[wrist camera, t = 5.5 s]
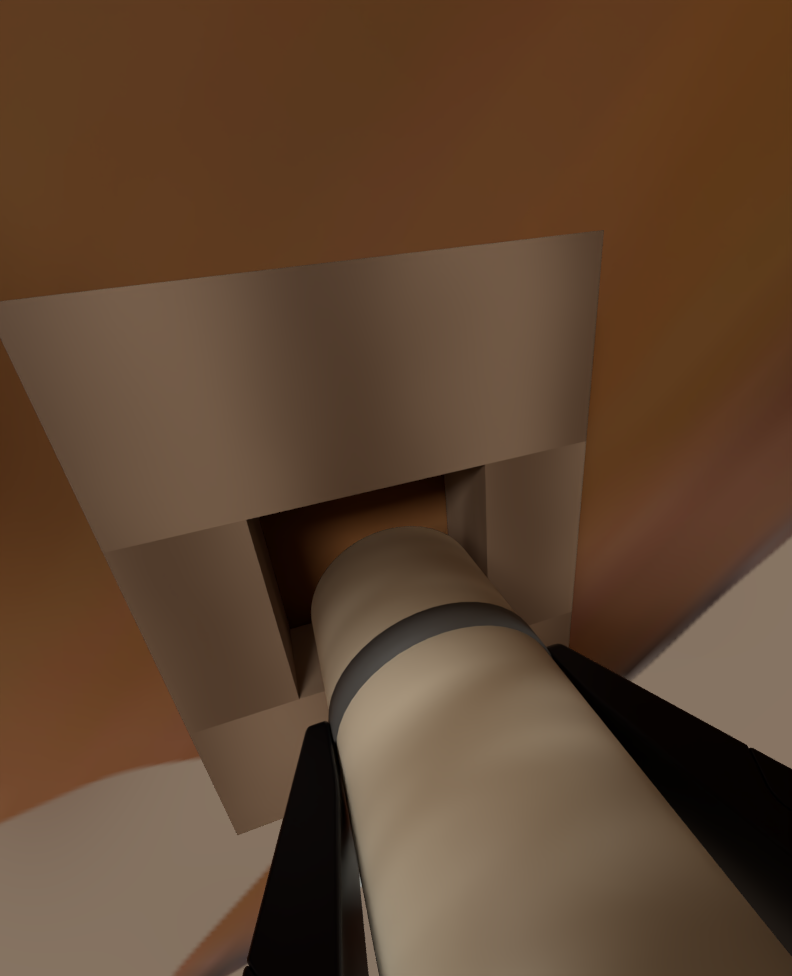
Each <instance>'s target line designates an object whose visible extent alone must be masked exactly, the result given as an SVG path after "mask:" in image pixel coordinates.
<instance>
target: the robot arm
mask: <svg viewBox="0 0 792 976" xmlns="http://www.w3.org/2000/svg"><path fill="white" fill-rule="evenodd" d="M546 648H547V649H548V651H549V652H550V654H551V656H552V659H553V660H554V661H555V663H556V664H557V665H558V666H559V668H560V669H561V670H562V671H563V673H564V674H565V675H566V676H567V678H568V679H569V680H570V681H571V683H572V684H573V685H574V686H575V688H576V689H577V690H578V691H579V693H580V694H581V695H582V696H583V698H584V699H585V700H586V701H587V703H588V704H589V705H590V706H591V708H592V709H593V710H594V711H595V712H596V714H597V715H598V716H599V717H600V719H601V720H602V721H603V722H604V724H605V725H606V726H607V727H608V729H609V730H610V731H611V732H612V734H613V735H614V736H615V737H616V739H617V740H618V741H619V742H620V744H621V745H622V746H623V747H624V749H625V750H626V751H627V752H628V754H629V755H630V756H631V757H632V759H633V760H634V761H635V762H636V764H637V765H638V766H639V767H640V768H641V770H642V771H643V772H644V773H645V775H646V776H647V777H648V778H649V780H650V781H651V782H652V783H653V785H654V786H655V787H656V788H657V790H658V791H659V792H660V793H661V795H662V796H663V797H664V798H665V800H666V801H667V802H668V803H669V805H670V806H671V807H672V808H673V810H674V811H675V812H676V813H677V815H678V816H679V817H680V818H681V820H682V821H683V822H684V823H685V824H686V826H687V827H688V828H689V829H690V831H691V832H692V833H693V834H694V836H695V837H696V838H697V839H698V841H699V842H700V843H701V844H702V846H703V847H704V848H705V849H706V851H707V852H708V853H709V854H710V856H711V857H712V858H713V859H714V861H715V862H716V863H717V864H718V866H719V867H720V868H721V869H722V871H723V872H724V873H725V874H726V876H727V877H728V878H729V879H730V880H731V882H732V883H733V884H734V885H735V887H736V888H737V889H738V890H739V892H740V893H741V894H742V895H743V897H744V898H745V899H746V900H747V902H748V903H749V904H750V905H751V907H752V908H753V909H754V910H755V912H756V913H757V914H758V915H759V917H760V918H761V919H762V920H763V922H764V923H765V924H766V925H767V927H768V928H769V929H770V930H771V932H772V933H773V934H774V935H775V936H776V938H777V939H778V940H779V941H780V943H781V944H782V945H783V946H784V948H785V949H786V950H787V951H788V953H789V954H790V955H791V956H792V769H791V768H789V767H787V766H785V765H783V764H781V763H779V762H777V761H775V760H773V759H772V758H770V757H768V756H766V755H765V754H763V753H761V752H759V751H757V750H755V749H754V748H748V746H747V745H746V744H744V743H742V742H741V741H739V740H737V739H735V738H733V737H731V736H730V735H727V734H726V733H724V732H722V731H720V730H719V729H717V728H715V727H713V726H711V725H709V724H708V723H706V722H704V721H702V720H700V719H698V718H696V717H695V716H693V715H691V714H689V713H687V712H685V711H684V710H682V709H680V708H678V707H676V706H675V705H673V704H671V703H669V702H667V701H665V700H664V699H661V698H660V697H658V696H656V695H654V694H653V693H650V692H649V691H647V690H645V689H643V688H642V687H640V686H638V685H636V684H634V683H632V682H631V681H629V680H627V679H625V678H623V677H621V676H620V675H618V674H616V673H614V672H612V671H610V670H609V669H607V668H605V667H603V666H601V665H600V664H598V663H596V662H594V661H592V660H590V659H589V658H587V657H585V656H583V655H581V654H579V653H578V652H576V651H574V650H572V649H570V648H568V647H567V646H565V645H563V644H553V645H550V646H547V647H546ZM247 963H248V965H249V966H246V967H245V968H244V971H243V976H369V974H368V964H367V954H366V943H365V933H364V924H363V912H362V903H361V892H360V882H359V871H358V862H357V856H356V851H355V846H354V841H353V835H352V830H351V825H350V820H349V814H348V809H347V804H346V799H345V793H344V788H343V783H342V778H341V772H340V770H339V766H338V762H337V758H336V754H335V751H334V747H333V741H332V736H331V731H330V725H329V723H328V722H327V721H323V722H320V723H317V724H314V725H311V726H309V727H308V728H307V729H306V732H305V735H304V739H303V743H302V747H301V751H300V755H299V759H298V763H297V766H296V770H295V774H294V778H293V782H292V786H291V790H290V794H289V798H288V801H287V805H286V809H285V813H284V817H283V821H282V825H281V829H280V832H279V836H278V840H277V844H276V848H275V852H274V856H273V860H272V864H271V867H270V871H269V875H268V879H267V883H266V887H265V891H264V895H263V899H262V902H261V906H260V910H259V914H258V918H257V922H256V926H255V930H254V933H253V937H252V941H251V945H250V949H249V953H248V957H247Z"/></svg>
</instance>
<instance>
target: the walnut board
mask: <svg viewBox="0 0 792 976" xmlns="http://www.w3.org/2000/svg"><path fill="white" fill-rule="evenodd" d="M603 234H604V230H601V231H593V232H584V233H576V234H567V235H559V236H550V237H542V238H534V239H525V240H517V241H508V242H500V243H491V244H483V245H474V246H466V247H457V248H449V249H440V250H432V251H423V252H415V253H406V254H398V255H389V256H381V257H372V258H364V259H355V260H347V261H338V262H330V263H321V264H313V265H304V266H296V267H287V268H279V269H271V270H262V271H254V272H245V273H237V274H228V275H220V276H211V277H203V278H194V279H186V280H177V281H169V282H160V283H152V284H143V285H135V286H126V287H118V288H109V289H101V290H92V291H84V292H75V293H67V294H58V295H50V296H41V297H33V298H24V299H16V300H8V301H0V338H1V340H2V342H3V345H4V347H5V349H6V351H7V353H8V355H9V357H10V359H11V361H12V363H13V366H14V368H15V370H16V372H17V374H18V376H19V378H20V380H21V382H22V384H23V387H24V389H25V391H26V393H27V395H28V397H29V399H30V401H31V403H32V405H33V407H34V410H35V412H36V414H37V416H38V418H39V420H40V422H41V424H42V426H43V428H44V431H45V433H46V435H47V437H48V439H49V441H50V443H51V445H52V447H53V449H54V452H55V454H56V456H57V458H58V460H59V462H60V464H61V466H62V468H63V470H64V472H65V475H66V477H67V479H68V481H69V483H70V485H71V487H72V489H73V491H74V493H75V496H76V498H77V500H78V502H79V504H80V506H81V508H82V510H83V512H84V514H85V517H86V519H87V521H88V523H89V525H90V527H91V529H92V531H93V533H94V535H95V537H96V540H97V542H98V544H99V546H100V548H101V550H102V552H103V554H104V556H105V558H106V561H107V563H108V565H109V567H110V569H111V571H112V573H113V575H114V577H115V579H116V582H117V584H118V586H119V588H120V590H121V592H122V594H123V596H124V598H125V600H126V602H127V605H128V607H129V609H130V611H131V613H132V615H133V617H134V619H135V621H136V623H137V626H138V628H139V630H140V632H141V634H142V636H143V638H144V640H145V642H146V644H147V646H148V649H149V651H150V653H151V655H152V657H153V659H154V661H155V663H156V665H157V667H158V670H159V672H160V674H161V676H162V678H163V680H164V682H165V684H166V686H167V688H168V691H169V693H170V695H171V697H172V699H173V701H174V703H175V705H176V707H177V709H178V711H179V714H180V716H181V718H182V720H183V722H184V724H185V726H186V728H187V730H188V732H189V735H190V737H191V739H192V741H193V743H194V745H195V747H196V749H197V751H198V753H199V756H200V758H201V760H202V762H203V764H204V766H205V768H206V770H207V772H208V774H209V776H210V778H211V781H212V783H213V785H214V787H215V789H216V791H217V793H218V795H219V797H220V800H221V802H222V804H223V806H224V808H225V810H226V812H227V814H228V816H229V818H230V821H231V823H232V825H233V827H234V829H235V831H236V833H237V835H239V834H242V833H245V832H248V831H250V830H253V829H256V828H258V827H261V826H264V825H266V824H269V823H272V822H274V821H277V820H280V819H282V818H283V817H284V813H285V809H286V805H287V801H288V798H289V794H290V790H291V786H292V782H293V778H294V774H295V770H296V766H297V763H298V759H299V755H300V751H301V747H302V743H303V739H304V735H305V732H306V729H307V728H308V727H309V726H311V725H314V724H317V723H320V722H323V721H327V722H328V714H329V709H328V704H327V699H326V694H325V688H324V683H323V678H322V673H321V667H320V662H319V657H318V652H317V646H316V641H315V636H314V631H313V625H312V623H310V624H306V625H303V626H300V627H296V628H293V629H290V627H289V623H288V620H287V616H286V613H285V609H284V606H283V602H282V598H281V595H280V591H279V588H278V584H277V581H276V577H275V574H274V570H273V566H272V563H271V559H270V556H269V552H268V549H267V545H266V541H265V538H264V534H263V531H262V527H261V524H260V520H259V517H261V516H265V515H269V514H274V513H278V512H282V511H287V510H291V509H295V508H300V507H304V506H308V505H312V504H317V503H321V502H325V501H330V500H334V499H338V498H343V497H347V496H351V495H356V494H360V493H364V492H369V491H373V490H377V489H382V488H386V487H390V486H395V485H399V484H403V483H408V482H412V481H416V480H421V479H425V478H429V477H433V476H438V475H442V474H444V479H445V494H446V509H447V524H448V536H450V537H451V538H453V539H454V540H456V541H457V542H458V543H459V544H460V545H461V546H462V547H463V548H464V549H465V551H466V552H467V553H468V554H469V556H470V557H471V558H472V559H473V561H474V562H475V563H476V564H477V566H478V567H479V568H480V569H481V571H482V572H483V573H484V574H485V576H486V577H487V578H488V579H489V581H490V582H491V583H492V584H493V586H494V587H495V588H496V589H497V591H498V592H499V593H500V594H501V596H502V597H503V598H504V599H505V600H506V602H507V603H508V604H509V605H510V607H511V608H512V609H513V610H514V612H515V613H516V614H517V615H518V616H520V617H521V618H522V619H523V620H524V621H525V622H526V623H527V624H528V625H529V626H530V628H531V629H532V630H533V631H534V632H535V634H536V635H537V636H538V637H539V639H540V640H541V641H542V642H543V644H544V645H545V646H546V647H547V646H550V645H553V644H563V645H565V646H567V647H568V648H569V638H570V626H571V615H572V603H573V591H574V579H575V567H576V555H577V543H578V531H579V519H580V508H581V496H582V484H583V472H584V460H585V448H586V436H587V424H588V412H589V401H590V389H591V377H592V365H593V353H594V341H595V329H596V317H597V305H598V294H599V282H600V270H601V258H602V246H603ZM328 723H329V722H328Z"/></svg>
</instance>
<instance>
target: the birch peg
mask: <svg viewBox="0 0 792 976" xmlns="http://www.w3.org/2000/svg"><path fill="white" fill-rule="evenodd" d="M311 619H312V625H313V631H314V636H315V641H316V646H317V652H318V657H319V662H320V667H321V673H322V678H323V683H324V688H325V694H326V699H327V704H328V709H329V714H328V722H329V725H330V731H331V736H332V741H333V747H334V751H335V754H336V758H337V762H338V766H339V770H340V772H341V778H342V783H343V788H344V793H345V799H346V804H347V809H348V814H349V820H350V825H351V830H352V835H353V841H354V846H355V851H356V856H357V862H358V867H359V872H360V877H361V883H362V888H363V893H364V898H365V903H366V908H367V914H368V919H369V924H370V930H371V935H372V940H373V945H374V951H375V956H376V961H377V966H378V972H379V976H792V956H791V955H790V954H789V953H788V951H787V950H786V949H785V948H784V946H783V945H782V944H781V943H780V941H779V940H778V939H777V938H776V936H775V935H774V934H773V933H772V932H771V930H770V929H769V928H768V927H767V925H766V924H765V923H764V922H763V920H762V919H761V918H760V917H759V915H758V914H757V913H756V912H755V910H754V909H753V908H752V907H751V905H750V904H749V903H748V902H747V900H746V899H745V898H744V897H743V895H742V894H741V893H740V892H739V890H738V889H737V888H736V887H735V885H734V884H733V883H732V882H731V880H730V879H729V878H728V877H727V876H726V874H725V873H724V872H723V871H722V869H721V868H720V867H719V866H718V864H717V863H716V862H715V861H714V859H713V858H712V857H711V856H710V854H709V853H708V852H707V851H706V849H705V848H704V847H703V846H702V844H701V843H700V842H699V841H698V839H697V838H696V837H695V836H694V834H693V833H692V832H691V831H690V829H689V828H688V827H687V826H686V824H685V823H684V822H683V821H682V820H681V818H680V817H679V816H678V815H677V813H676V812H675V811H674V810H673V808H672V807H671V806H670V805H669V803H668V802H667V801H666V800H665V798H664V797H663V796H662V795H661V793H660V792H659V791H658V790H657V788H656V787H655V786H654V785H653V783H652V782H651V781H650V780H649V778H648V777H647V776H646V775H645V773H644V772H643V771H642V770H641V768H640V767H639V766H638V765H637V764H636V762H635V761H634V760H633V759H632V757H631V756H630V755H629V754H628V752H627V751H626V750H625V749H624V747H623V746H622V745H621V744H620V742H619V741H618V740H617V739H616V737H615V736H614V735H613V734H612V732H611V731H610V730H609V729H608V727H607V726H606V725H605V724H604V722H603V721H602V720H601V719H600V717H599V716H598V715H597V714H596V712H595V711H594V710H593V709H592V708H591V706H590V705H589V704H588V703H587V701H586V700H585V699H584V698H583V696H582V695H581V694H580V693H579V691H578V690H577V689H576V688H575V686H574V685H573V684H572V683H571V681H570V680H569V679H568V678H567V676H566V675H565V674H564V673H563V671H562V670H561V669H560V668H559V666H558V665H557V664H556V663H555V661H554V660H553V659H552V656H551V654H550V652H549V651H548V649H547V648H546V646H545V645H544V644H543V642H542V641H541V640H540V639H539V637H538V636H537V635H536V634H535V632H534V631H533V630H532V629H531V628H530V626H529V625H528V624H527V623H526V622H525V621H524V620H523V619H522V618H521V617H520V616H518V615H517V614H516V613H515V612H514V610H513V609H512V608H511V607H510V605H509V604H508V603H507V602H506V600H505V599H504V598H503V597H502V596H501V594H500V593H499V592H498V591H497V589H496V588H495V587H494V586H493V584H492V583H491V582H490V581H489V579H488V578H487V577H486V576H485V574H484V573H483V572H482V571H481V569H480V568H479V567H478V566H477V564H476V563H475V562H474V561H473V559H472V558H471V557H470V556H469V554H468V553H467V552H466V551H465V549H464V548H463V547H462V546H461V545H460V544H459V543H458V542H457V541H456V540H454V539H453V538H451V537H450V536H448V535H446V534H444V533H442V532H440V531H437V530H434V529H430V528H425V527H415V526H407V527H396V528H391V529H386V530H383V531H380V532H377V533H374V534H372V535H370V536H367V537H365V538H363V539H361V540H360V541H358V542H356V543H354V544H353V545H352V546H350V547H349V548H347V549H346V550H345V551H343V552H342V553H341V554H340V555H339V556H338V557H337V558H336V559H335V560H334V561H333V562H332V563H331V564H330V566H329V567H328V568H327V569H326V571H325V572H324V574H323V575H322V577H321V579H320V581H319V583H318V585H317V587H316V589H315V593H314V596H313V600H312V606H311Z"/></svg>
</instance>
